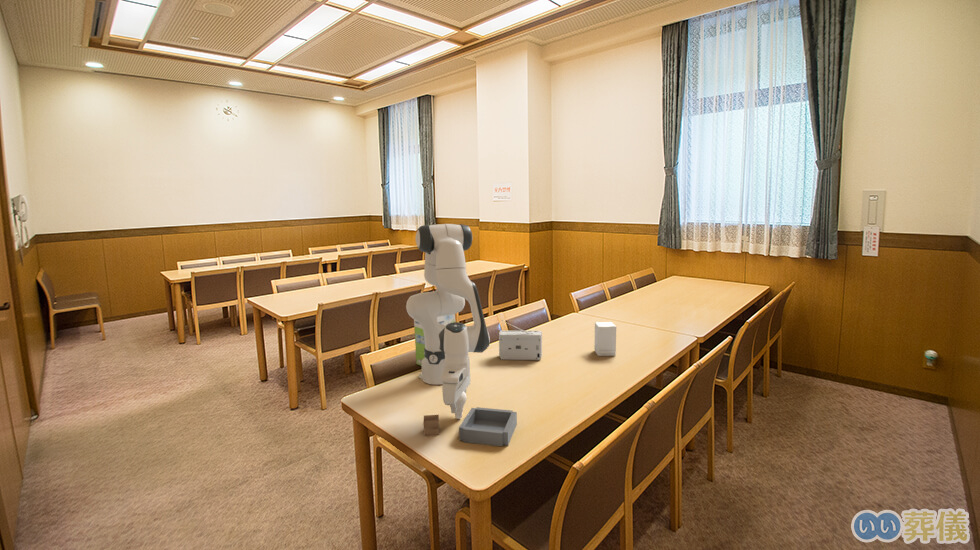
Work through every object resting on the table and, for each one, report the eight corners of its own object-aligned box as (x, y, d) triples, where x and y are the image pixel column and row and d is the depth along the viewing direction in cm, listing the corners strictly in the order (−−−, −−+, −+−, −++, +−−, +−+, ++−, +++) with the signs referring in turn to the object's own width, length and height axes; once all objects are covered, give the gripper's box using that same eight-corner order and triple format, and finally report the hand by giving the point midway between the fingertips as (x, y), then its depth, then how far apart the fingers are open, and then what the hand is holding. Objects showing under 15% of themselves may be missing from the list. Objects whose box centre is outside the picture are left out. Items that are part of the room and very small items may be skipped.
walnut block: (424, 429, 160) (423, 415, 159) (439, 428, 160) (438, 414, 160) (424, 436, 155) (423, 422, 154) (439, 435, 155) (438, 421, 155)
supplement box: (616, 356, 228) (616, 326, 226) (597, 356, 228) (598, 326, 226) (611, 350, 237) (612, 321, 235) (594, 350, 237) (594, 321, 235)
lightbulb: (470, 418, 167) (469, 389, 165) (458, 424, 162) (457, 394, 161) (458, 413, 171) (457, 384, 169) (446, 419, 166) (445, 390, 165)
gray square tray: (472, 418, 167) (472, 406, 166) (517, 423, 163) (517, 411, 162) (458, 441, 151) (458, 428, 150) (507, 447, 147) (507, 433, 146)
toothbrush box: (428, 369, 214) (425, 318, 211) (415, 364, 222) (412, 315, 218) (458, 360, 226) (455, 311, 223) (444, 355, 234) (442, 308, 230)
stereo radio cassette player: (541, 355, 231) (541, 316, 228) (542, 361, 223) (541, 320, 220) (499, 355, 233) (499, 316, 230) (498, 360, 225) (497, 320, 222)
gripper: (457, 358, 174) (459, 393, 177) (438, 379, 155) (440, 418, 157) (474, 359, 173) (475, 395, 175) (456, 380, 153) (458, 420, 155)
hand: (458, 406), depth 166 cm, fingers open, 8 cm apart
